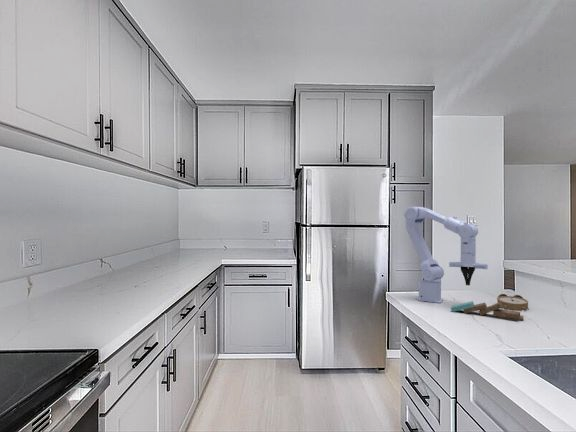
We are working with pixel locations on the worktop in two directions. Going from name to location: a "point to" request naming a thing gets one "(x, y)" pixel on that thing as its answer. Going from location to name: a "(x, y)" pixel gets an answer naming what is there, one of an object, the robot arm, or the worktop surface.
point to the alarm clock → (513, 302)
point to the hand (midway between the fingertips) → (467, 285)
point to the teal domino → (462, 306)
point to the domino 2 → (491, 308)
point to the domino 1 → (475, 308)
